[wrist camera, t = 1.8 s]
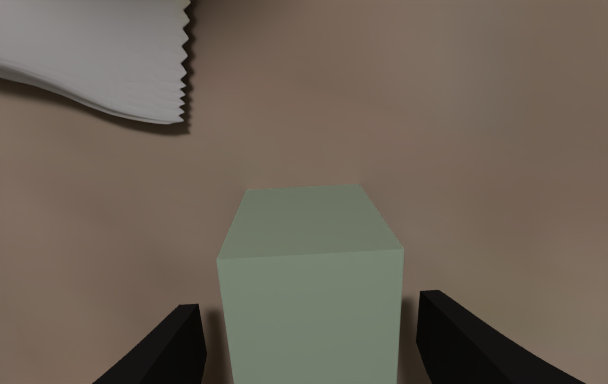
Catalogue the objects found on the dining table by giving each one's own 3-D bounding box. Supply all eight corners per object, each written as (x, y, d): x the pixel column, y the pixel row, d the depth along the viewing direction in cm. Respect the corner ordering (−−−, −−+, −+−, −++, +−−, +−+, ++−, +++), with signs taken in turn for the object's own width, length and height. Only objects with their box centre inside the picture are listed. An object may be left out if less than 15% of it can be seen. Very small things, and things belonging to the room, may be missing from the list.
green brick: (356, 359, 14) (390, 496, 9) (264, 365, 14) (251, 506, 9) (358, 183, 12) (404, 249, 7) (247, 188, 12) (216, 259, 7)
